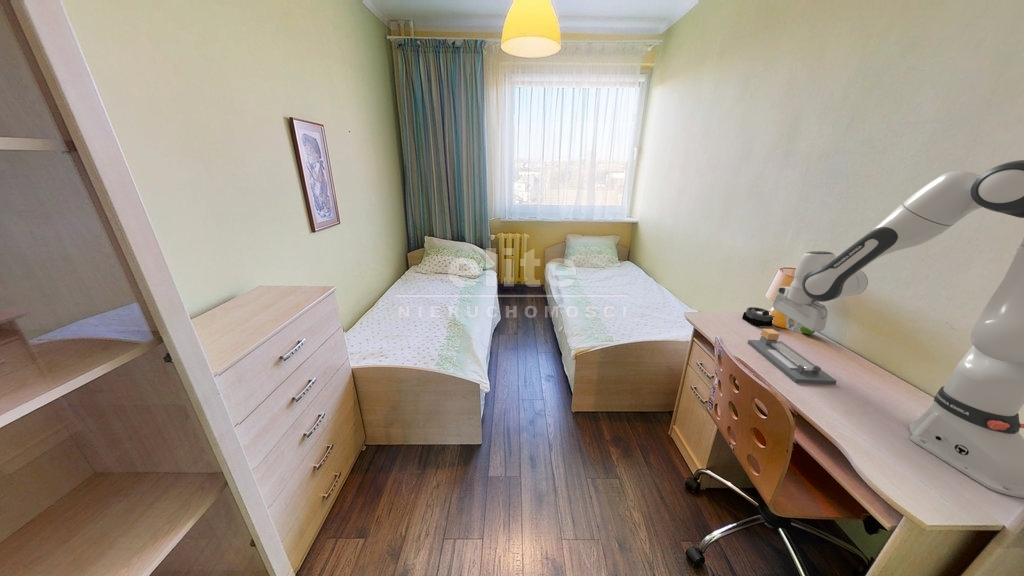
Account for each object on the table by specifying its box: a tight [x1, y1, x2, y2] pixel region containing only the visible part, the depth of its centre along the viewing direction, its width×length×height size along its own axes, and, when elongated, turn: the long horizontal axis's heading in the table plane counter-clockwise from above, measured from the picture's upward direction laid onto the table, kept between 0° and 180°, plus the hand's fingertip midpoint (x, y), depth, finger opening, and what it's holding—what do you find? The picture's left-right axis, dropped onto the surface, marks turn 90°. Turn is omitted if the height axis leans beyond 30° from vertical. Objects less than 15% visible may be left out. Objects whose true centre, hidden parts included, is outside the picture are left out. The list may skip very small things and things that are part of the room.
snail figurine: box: [799, 326, 816, 335], centre depth 140 cm, size 5×6×12 cm
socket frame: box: [747, 335, 838, 385], centre depth 121 cm, size 26×13×4 cm, turn 177°
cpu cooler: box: [741, 306, 775, 328], centre depth 151 cm, size 10×6×10 cm
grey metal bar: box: [772, 343, 816, 371], centre depth 119 cm, size 17×4×1 cm, turn 177°
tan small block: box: [760, 328, 781, 341], centre depth 130 cm, size 4×4×3 cm
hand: (791, 330), depth 120 cm, fingers closed
